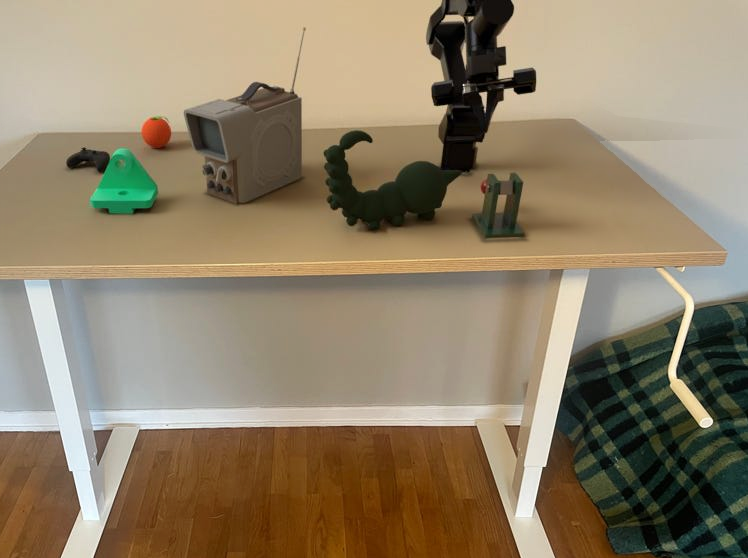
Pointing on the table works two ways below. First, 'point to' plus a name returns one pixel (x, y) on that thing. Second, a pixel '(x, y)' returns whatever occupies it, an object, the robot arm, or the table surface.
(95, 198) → the camera mount
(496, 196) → the bracket
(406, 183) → the toy figurine
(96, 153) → the gaming controller
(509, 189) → the lever
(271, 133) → the portable television
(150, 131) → the clementine
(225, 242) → the table surface
